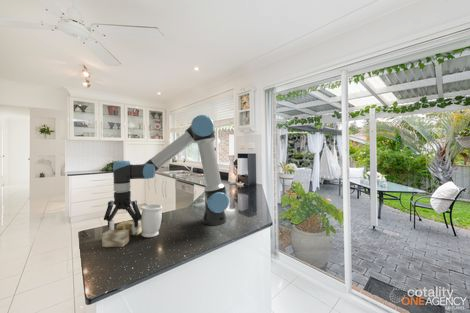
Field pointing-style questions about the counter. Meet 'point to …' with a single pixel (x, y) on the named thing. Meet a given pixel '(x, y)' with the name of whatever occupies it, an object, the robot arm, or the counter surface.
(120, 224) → the yellowish stone chunk
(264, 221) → the counter surface
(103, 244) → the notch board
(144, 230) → the jar
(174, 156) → the robot arm
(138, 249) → the counter surface
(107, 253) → the counter surface
